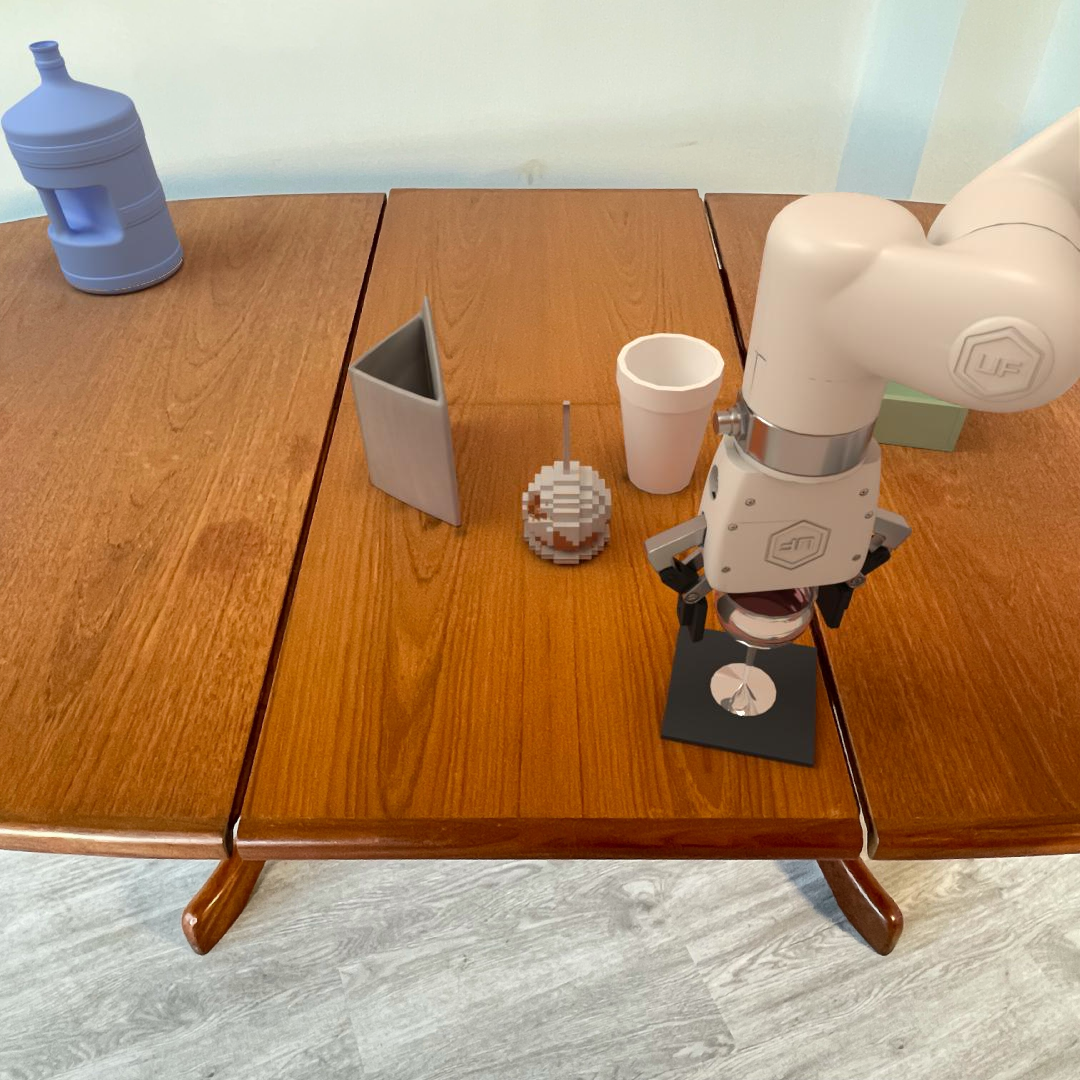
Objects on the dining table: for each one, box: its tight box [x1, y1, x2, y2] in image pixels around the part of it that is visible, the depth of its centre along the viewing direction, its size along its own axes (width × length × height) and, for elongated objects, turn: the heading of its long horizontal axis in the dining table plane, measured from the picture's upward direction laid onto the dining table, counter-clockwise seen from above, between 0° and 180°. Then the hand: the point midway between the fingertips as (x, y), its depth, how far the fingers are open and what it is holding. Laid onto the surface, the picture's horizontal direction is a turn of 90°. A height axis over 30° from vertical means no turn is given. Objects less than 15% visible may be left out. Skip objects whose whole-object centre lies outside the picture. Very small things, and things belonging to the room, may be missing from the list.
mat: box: [660, 625, 818, 768], centre depth 68 cm, size 11×11×1 cm
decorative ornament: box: [521, 400, 612, 565], centre depth 76 cm, size 8×8×15 cm
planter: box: [347, 295, 462, 527], centre depth 81 cm, size 16×8×19 cm, turn 12°
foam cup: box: [615, 332, 726, 495], centre depth 83 cm, size 10×9×13 cm
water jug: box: [0, 40, 184, 295], centre depth 112 cm, size 16×16×28 cm
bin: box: [872, 380, 970, 453], centre depth 92 cm, size 13×13×5 cm
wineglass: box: [710, 586, 819, 716], centre depth 63 cm, size 7×7×12 cm
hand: (759, 620), depth 62 cm, fingers open, 9 cm apart
